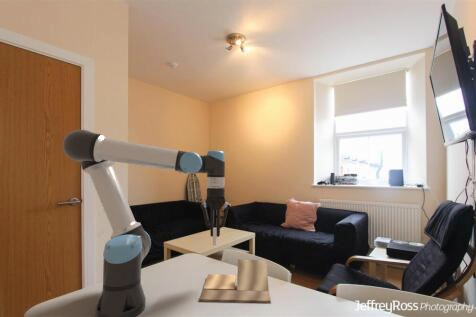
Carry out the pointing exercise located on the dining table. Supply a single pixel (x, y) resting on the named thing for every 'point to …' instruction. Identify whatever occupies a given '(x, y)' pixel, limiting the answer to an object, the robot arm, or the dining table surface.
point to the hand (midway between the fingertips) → (215, 244)
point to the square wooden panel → (252, 275)
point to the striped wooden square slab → (220, 282)
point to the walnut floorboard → (235, 296)
